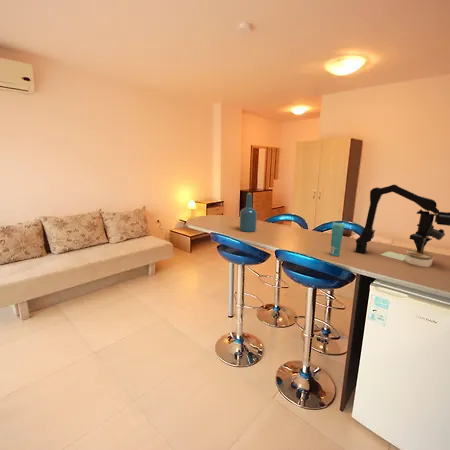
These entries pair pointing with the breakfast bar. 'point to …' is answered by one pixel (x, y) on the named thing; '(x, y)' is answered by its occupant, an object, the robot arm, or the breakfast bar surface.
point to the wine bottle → (248, 216)
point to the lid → (420, 253)
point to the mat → (394, 255)
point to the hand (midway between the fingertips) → (420, 251)
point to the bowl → (418, 260)
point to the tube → (336, 238)
